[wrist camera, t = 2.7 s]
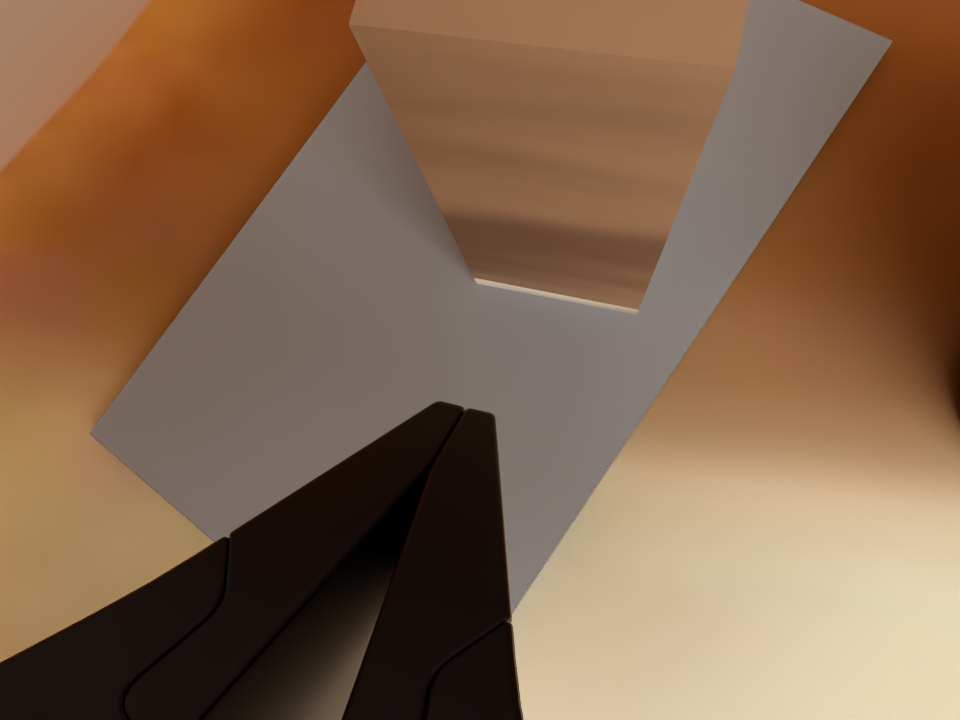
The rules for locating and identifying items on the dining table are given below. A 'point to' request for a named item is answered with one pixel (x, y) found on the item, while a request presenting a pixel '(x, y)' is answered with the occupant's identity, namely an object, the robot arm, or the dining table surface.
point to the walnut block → (555, 127)
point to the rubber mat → (457, 308)
